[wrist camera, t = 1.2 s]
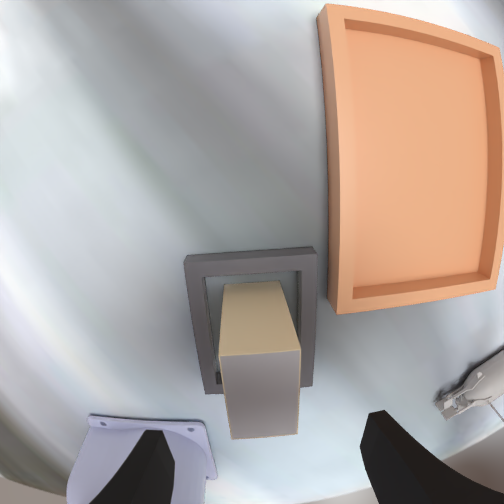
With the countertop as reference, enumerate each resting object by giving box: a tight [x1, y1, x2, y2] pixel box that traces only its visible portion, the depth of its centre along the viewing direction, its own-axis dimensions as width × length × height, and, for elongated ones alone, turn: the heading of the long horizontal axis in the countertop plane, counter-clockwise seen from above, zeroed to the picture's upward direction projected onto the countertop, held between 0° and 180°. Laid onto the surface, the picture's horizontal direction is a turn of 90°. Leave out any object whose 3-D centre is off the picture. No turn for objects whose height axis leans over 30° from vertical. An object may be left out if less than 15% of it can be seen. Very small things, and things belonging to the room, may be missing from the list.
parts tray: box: [316, 4, 504, 315], centre depth 15 cm, size 12×16×2 cm
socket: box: [184, 247, 317, 394], centre depth 18 cm, size 7×9×1 cm
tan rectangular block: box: [218, 281, 301, 439], centre depth 15 cm, size 3×5×6 cm, turn 3°
